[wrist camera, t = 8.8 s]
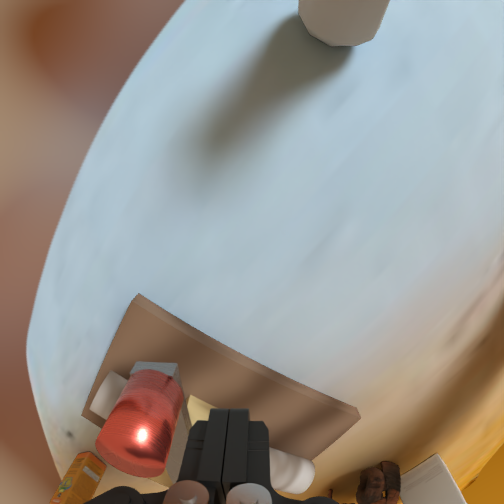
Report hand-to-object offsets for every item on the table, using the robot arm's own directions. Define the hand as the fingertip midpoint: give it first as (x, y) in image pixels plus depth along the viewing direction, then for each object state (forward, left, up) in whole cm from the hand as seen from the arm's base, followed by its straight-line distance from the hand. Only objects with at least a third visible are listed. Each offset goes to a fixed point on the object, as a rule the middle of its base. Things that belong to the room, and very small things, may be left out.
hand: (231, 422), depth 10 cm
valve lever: (-1, +7, -3) cm, 7 cm away
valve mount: (-4, +11, -12) cm, 17 cm away
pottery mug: (-26, +13, -12) cm, 32 cm away
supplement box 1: (+4, +30, -12) cm, 33 cm away
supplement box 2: (-37, +10, -12) cm, 40 cm away
